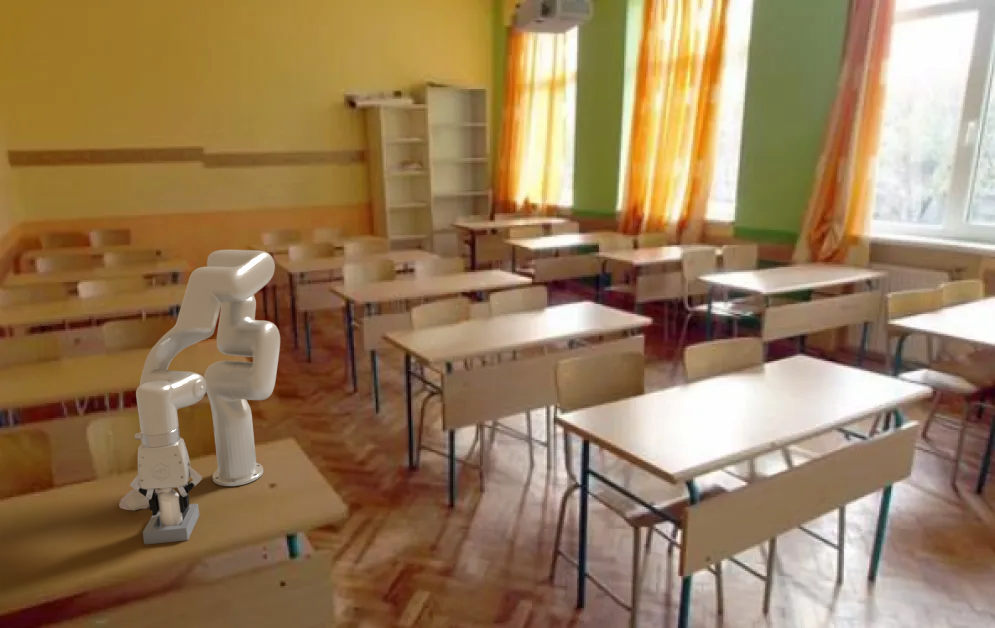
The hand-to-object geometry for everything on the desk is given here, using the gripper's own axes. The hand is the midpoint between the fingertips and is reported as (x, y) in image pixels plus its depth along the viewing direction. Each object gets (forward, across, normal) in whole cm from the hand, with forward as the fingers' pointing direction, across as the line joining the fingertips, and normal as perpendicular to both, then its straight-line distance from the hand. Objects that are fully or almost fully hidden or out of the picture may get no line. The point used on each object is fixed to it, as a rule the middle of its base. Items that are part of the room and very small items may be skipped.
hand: (170, 510), depth 158 cm
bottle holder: (+5, 0, 0) cm, 5 cm away
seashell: (+5, -11, +16) cm, 20 cm away
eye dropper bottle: (+4, 0, 0) cm, 4 cm away
